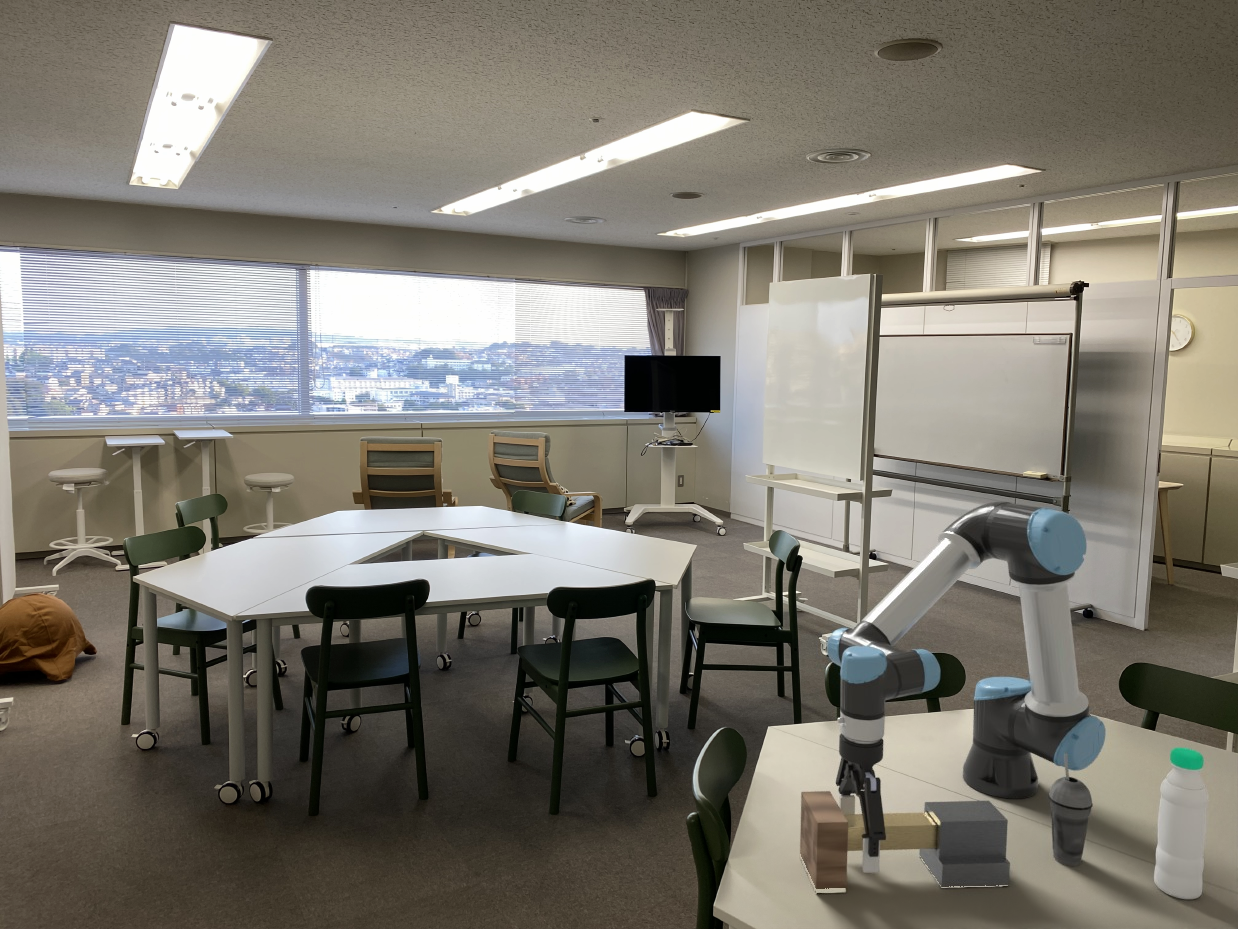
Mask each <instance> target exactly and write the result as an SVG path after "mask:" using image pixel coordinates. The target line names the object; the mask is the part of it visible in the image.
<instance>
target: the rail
mask: <svg viewBox="0 0 1238 929" xmlns="http://www.w3.org/2000/svg"><path fill="white" fill-rule="evenodd" d="M844 816H845V817H846V819H847V821H848V849H847V852H856V851H857V852H859V851H860V852H861V851H862V852H863V838H862V835H863V834H865V828H864V822H863V816H862V813H855V814H844ZM883 816H884V825H885V833H886V840H880V851H895V850H896V851H897V850H898V851H899V850H900V851H901V850H920V849H937V836H938V824H937V823H936V821H935V820H934V819H933V817H932V816H931V815H930V814H929V812H926V813H924V812H896V813H895V812H890V813H885V812H884V813H883Z"/></svg>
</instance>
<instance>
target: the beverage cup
mask: <svg viewBox="0 0 1238 929" xmlns="http://www.w3.org/2000/svg"><path fill="white" fill-rule="evenodd" d="M1064 760H1065V767H1064V771H1065V776H1062V777H1060V778H1057V779H1056V780H1055V781H1054V782H1053V783H1052V784H1051V786H1050V789H1049V793H1048V800H1049V806H1050V814H1051V817H1050V818H1051V834H1052V835H1051V837H1052V853H1053V859H1054V858H1055V859H1054V860H1055V861H1056V862H1058V863H1059V862H1060V863H1059V864H1062V865H1063V866H1064V865H1065V866H1068V867H1078V866H1080V865H1081V863H1082V856H1083V854H1084V848H1085V841H1086V836H1087V835H1086V834H1087V829H1088V825H1089V823H1088V822H1089V817H1090V815H1091V812H1092V807H1093V805H1094V804H1093V799H1092V794H1091V791H1090V789H1089V788H1088V786H1087V785H1086V784H1085V783H1084V782H1083V781H1081V780H1080V779H1078V778H1077V777H1072V776H1070V774H1069V769H1068V759H1067V754H1064Z"/></svg>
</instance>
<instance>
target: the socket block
mask: <svg viewBox="0 0 1238 929" xmlns="http://www.w3.org/2000/svg"><path fill="white" fill-rule="evenodd" d="M800 793H801V795H800V799H801V800H800V834H799V835H800V838H799V839H800V842H799V855H800V854H801V857H802V859H803V861H804V863H805V865H806V868H807V870H808V872H809V874H810V876H811V879H812V881H813V883H814V885H815V888H816V889H825V888H826V889H827V888H828V889H829V888H846V889H847V884H848V882H847V880H848V879H847V878H848V876H847V874H848V851H847V849H848V821H847V819H846V817H845V816H844V814H843V812H842V811H841V809H840V807H839V803H838V802H837V800H836V799H835V797H834V796H833V793H831V791H830V790H828V791H827V790H826V791H825V790H823V791H818V790H817V791H816V790H815V791H801V792H800Z"/></svg>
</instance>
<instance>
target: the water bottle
mask: <svg viewBox="0 0 1238 929" xmlns="http://www.w3.org/2000/svg"><path fill="white" fill-rule="evenodd" d="M1169 757H1170V758H1169V759H1170V765H1171V766H1172V769H1171V770H1170V771H1169V772H1168V773H1167V775H1166V777H1165V778H1164V779H1163V781H1162V782H1161V784H1160V788H1159V792H1160V795H1161V796H1160V801H1159V807H1158V814H1157V815H1158V816H1157V845H1156V849H1155V866H1154V872H1153V881H1154V884H1155V885H1156V887H1157V888H1158V889H1159V890H1161V891H1162V892H1163V893H1165V894H1167V895H1168V896H1171V897H1173V898H1177V899H1180V900H1195V899H1198V898H1199V897H1201V895H1202V893H1203V872H1204V866H1205V860H1204V859H1205V858H1204V853H1205V847H1206V841H1207V839H1206V838H1207V829H1208V828H1207V827H1208V804H1209V800H1210V796H1209V792H1208V790H1207V788H1206V786H1205V784H1204V781H1203V778H1202V777H1201V776H1200V772H1201V771H1202V770H1203V768H1204V767H1203V766H1204V763H1205V762H1204V756H1203V755H1202V753H1201V752H1198V751H1197V750H1195V749H1194V750H1193V749H1192V748H1191V749H1190V748H1188V747H1174V748H1172V749H1171V751H1170V756H1169Z"/></svg>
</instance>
